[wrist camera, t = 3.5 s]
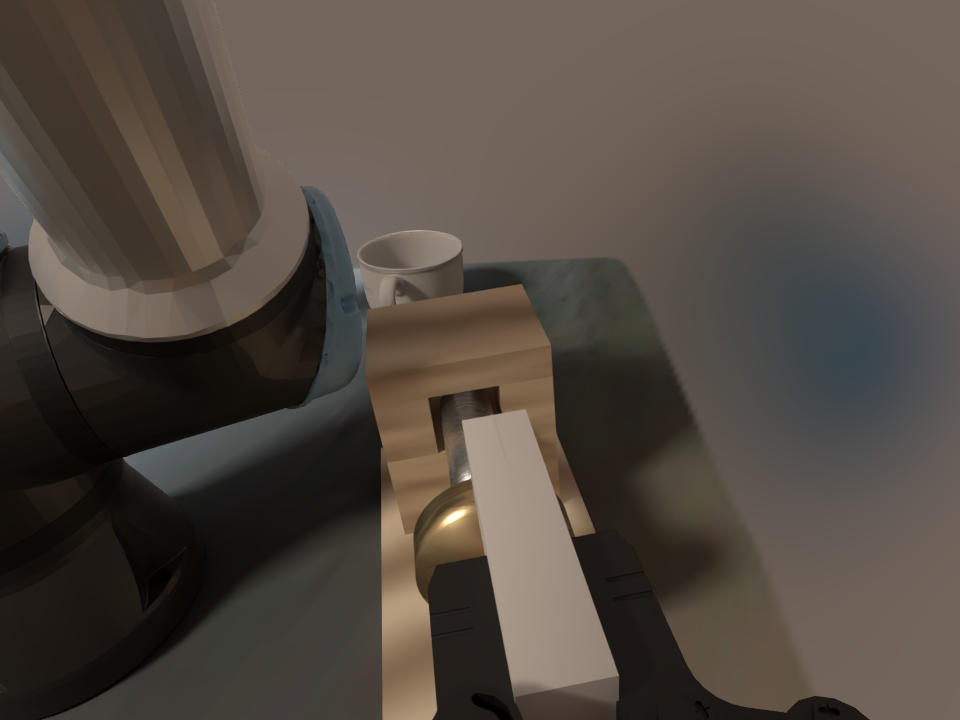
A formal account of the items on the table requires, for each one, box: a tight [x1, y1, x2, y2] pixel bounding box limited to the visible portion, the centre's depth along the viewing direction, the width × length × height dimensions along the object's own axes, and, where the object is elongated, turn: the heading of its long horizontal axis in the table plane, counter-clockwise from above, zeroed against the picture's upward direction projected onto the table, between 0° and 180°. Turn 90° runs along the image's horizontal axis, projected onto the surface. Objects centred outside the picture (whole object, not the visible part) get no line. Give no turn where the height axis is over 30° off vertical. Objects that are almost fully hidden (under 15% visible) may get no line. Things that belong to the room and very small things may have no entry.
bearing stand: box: [365, 284, 596, 720], centre depth 34 cm, size 24×13×14 cm, turn 8°
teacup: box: [357, 230, 464, 309], centre depth 64 cm, size 14×11×8 cm
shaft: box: [413, 389, 575, 604], centre depth 31 cm, size 12×7×7 cm, turn 8°
